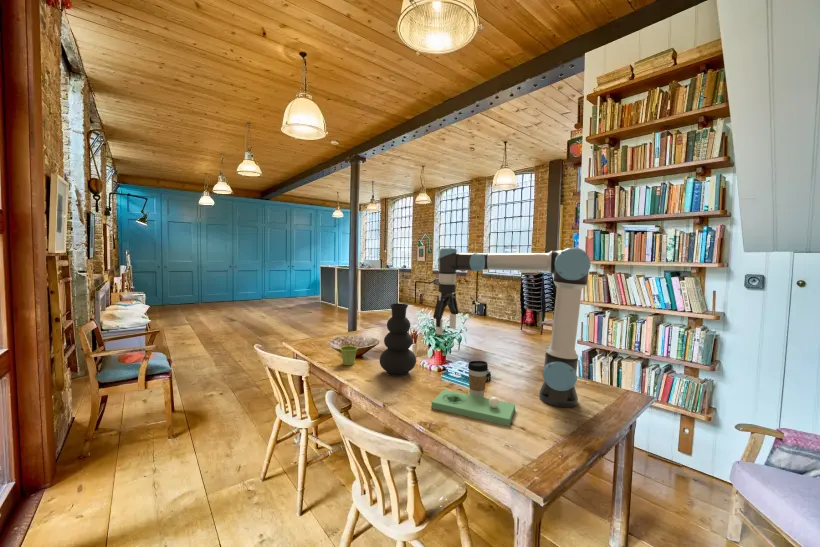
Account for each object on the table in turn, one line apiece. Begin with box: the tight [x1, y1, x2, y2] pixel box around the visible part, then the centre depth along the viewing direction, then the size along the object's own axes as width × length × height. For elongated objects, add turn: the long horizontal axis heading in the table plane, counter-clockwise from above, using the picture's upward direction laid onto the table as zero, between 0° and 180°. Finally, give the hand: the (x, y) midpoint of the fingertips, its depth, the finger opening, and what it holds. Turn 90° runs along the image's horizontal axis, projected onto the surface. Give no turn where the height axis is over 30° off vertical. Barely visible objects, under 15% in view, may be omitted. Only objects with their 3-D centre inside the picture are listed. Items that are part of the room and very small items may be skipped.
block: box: [431, 389, 516, 427], centre depth 138 cm, size 30×14×2 cm, turn 65°
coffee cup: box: [467, 360, 489, 398], centre depth 150 cm, size 8×8×15 cm
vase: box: [379, 302, 417, 377], centre depth 175 cm, size 18×18×35 cm
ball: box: [488, 396, 500, 408], centre depth 134 cm, size 4×4×4 cm
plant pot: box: [339, 345, 359, 366], centre depth 188 cm, size 9×9×9 cm
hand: (446, 331), depth 154 cm, fingers open, 13 cm apart
